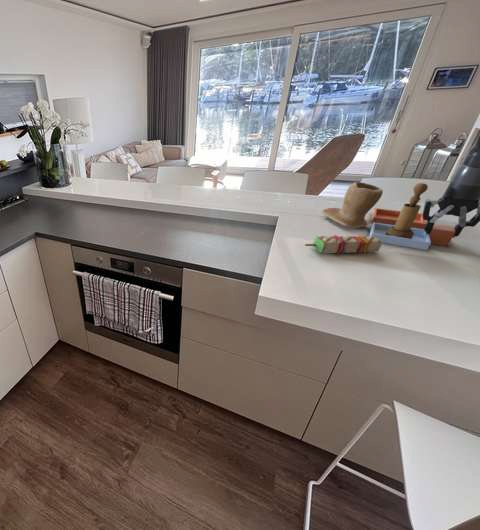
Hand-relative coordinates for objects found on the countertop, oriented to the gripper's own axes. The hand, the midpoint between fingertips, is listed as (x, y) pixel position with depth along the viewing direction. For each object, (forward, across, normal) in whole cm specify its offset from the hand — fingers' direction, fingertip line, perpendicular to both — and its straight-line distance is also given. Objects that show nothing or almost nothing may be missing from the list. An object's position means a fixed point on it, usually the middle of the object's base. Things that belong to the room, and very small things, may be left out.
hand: (439, 234), depth 91 cm
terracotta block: (+3, 0, 0) cm, 3 cm away
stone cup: (+3, -24, +6) cm, 25 cm away
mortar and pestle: (+2, -9, -3) cm, 10 cm away
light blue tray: (+3, -10, -3) cm, 10 cm away
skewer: (+4, -24, -22) cm, 33 cm away
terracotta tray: (+3, -10, +14) cm, 17 cm away
